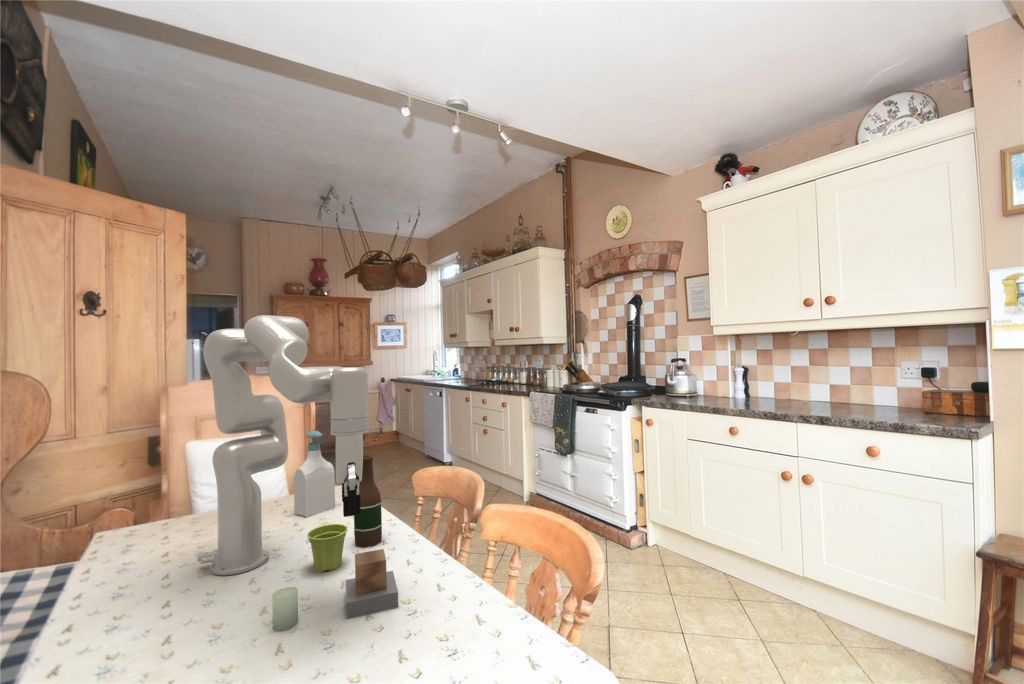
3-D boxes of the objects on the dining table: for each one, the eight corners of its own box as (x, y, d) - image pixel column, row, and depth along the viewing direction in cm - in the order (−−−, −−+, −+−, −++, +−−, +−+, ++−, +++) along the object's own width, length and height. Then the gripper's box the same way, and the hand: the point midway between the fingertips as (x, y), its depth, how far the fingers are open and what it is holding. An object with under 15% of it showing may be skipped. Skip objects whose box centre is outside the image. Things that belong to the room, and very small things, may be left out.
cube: (356, 595, 90) (355, 565, 90) (355, 582, 95) (354, 553, 95) (386, 589, 92) (386, 560, 92) (384, 576, 97) (383, 548, 98)
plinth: (346, 618, 87) (346, 603, 87) (346, 593, 96) (345, 579, 96) (398, 606, 90) (398, 591, 91) (393, 584, 100) (392, 570, 100)
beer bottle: (377, 547, 120) (375, 458, 120) (349, 548, 120) (347, 459, 121) (386, 536, 127) (384, 452, 128) (359, 536, 128) (357, 453, 128)
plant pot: (356, 561, 112) (356, 526, 112) (327, 578, 103) (326, 541, 104) (329, 555, 116) (329, 521, 116) (298, 571, 107) (298, 535, 108)
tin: (271, 633, 83) (270, 601, 83) (274, 620, 87) (274, 589, 87) (297, 627, 84) (296, 595, 85) (299, 615, 89) (298, 585, 89)
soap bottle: (309, 518, 144) (307, 434, 145) (294, 514, 148) (293, 432, 149) (338, 508, 153) (336, 429, 154) (323, 504, 158) (322, 427, 159)
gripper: (330, 422, 100) (331, 498, 99) (330, 433, 84) (331, 525, 83) (365, 419, 102) (366, 493, 102) (372, 430, 86) (373, 518, 86)
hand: (350, 507), depth 92 cm, fingers open, 9 cm apart
